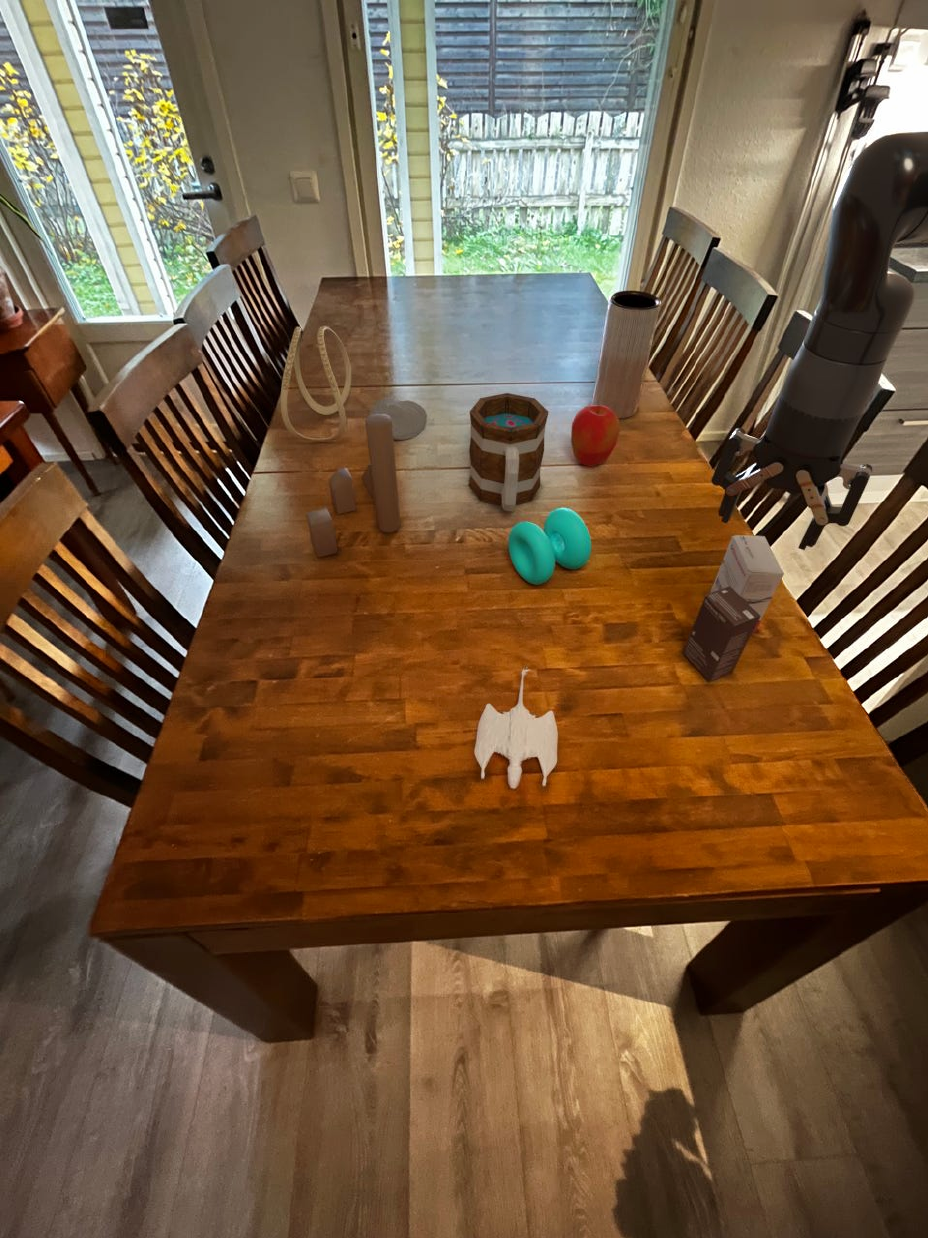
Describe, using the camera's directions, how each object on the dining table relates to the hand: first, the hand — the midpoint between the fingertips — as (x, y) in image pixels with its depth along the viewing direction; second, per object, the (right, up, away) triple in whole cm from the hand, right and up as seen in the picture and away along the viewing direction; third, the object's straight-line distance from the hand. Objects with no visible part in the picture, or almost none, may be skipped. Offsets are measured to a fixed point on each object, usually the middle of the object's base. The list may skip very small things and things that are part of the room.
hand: (763, 532), depth 71 cm
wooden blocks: (-54, +9, +40) cm, 68 cm away
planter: (-1, +37, +68) cm, 77 cm away
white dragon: (-27, -25, +8) cm, 38 cm away
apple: (-9, +21, +53) cm, 57 cm away
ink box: (+7, -9, +24) cm, 26 cm away
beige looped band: (-63, +30, +61) cm, 93 cm away
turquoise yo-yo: (-21, -2, +30) cm, 37 cm away
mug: (-26, +13, +45) cm, 53 cm away
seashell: (-48, +30, +61) cm, 83 cm away
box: (0, -16, +17) cm, 23 cm away
